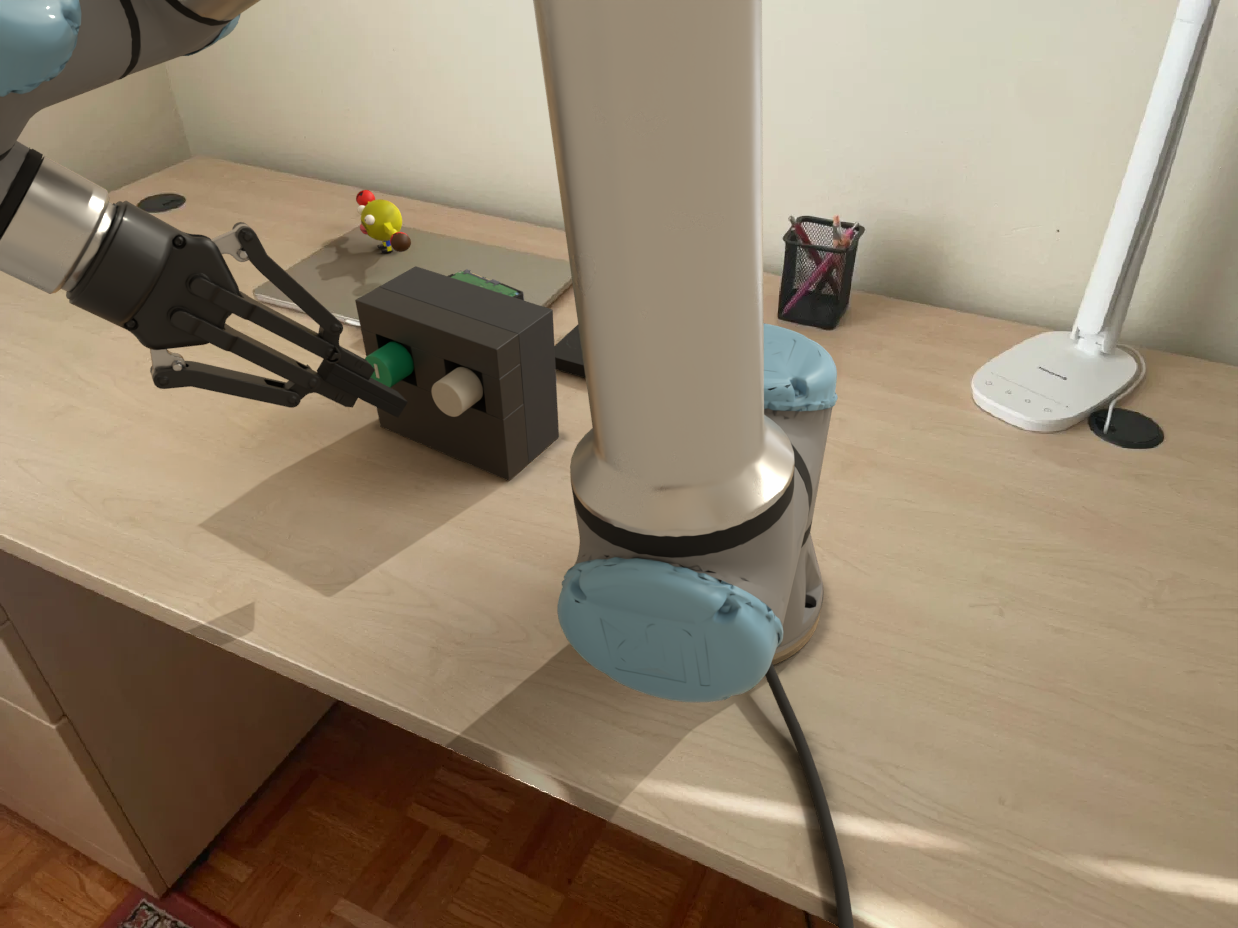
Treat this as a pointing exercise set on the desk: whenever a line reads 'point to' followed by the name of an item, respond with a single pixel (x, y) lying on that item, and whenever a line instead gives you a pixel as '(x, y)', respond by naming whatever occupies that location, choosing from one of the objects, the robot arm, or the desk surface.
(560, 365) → the smart home device
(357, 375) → the robot arm
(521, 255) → the desk surface
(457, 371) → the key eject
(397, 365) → the key power
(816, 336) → the desk surface
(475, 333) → the dock
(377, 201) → the toy figure
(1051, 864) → the desk surface
